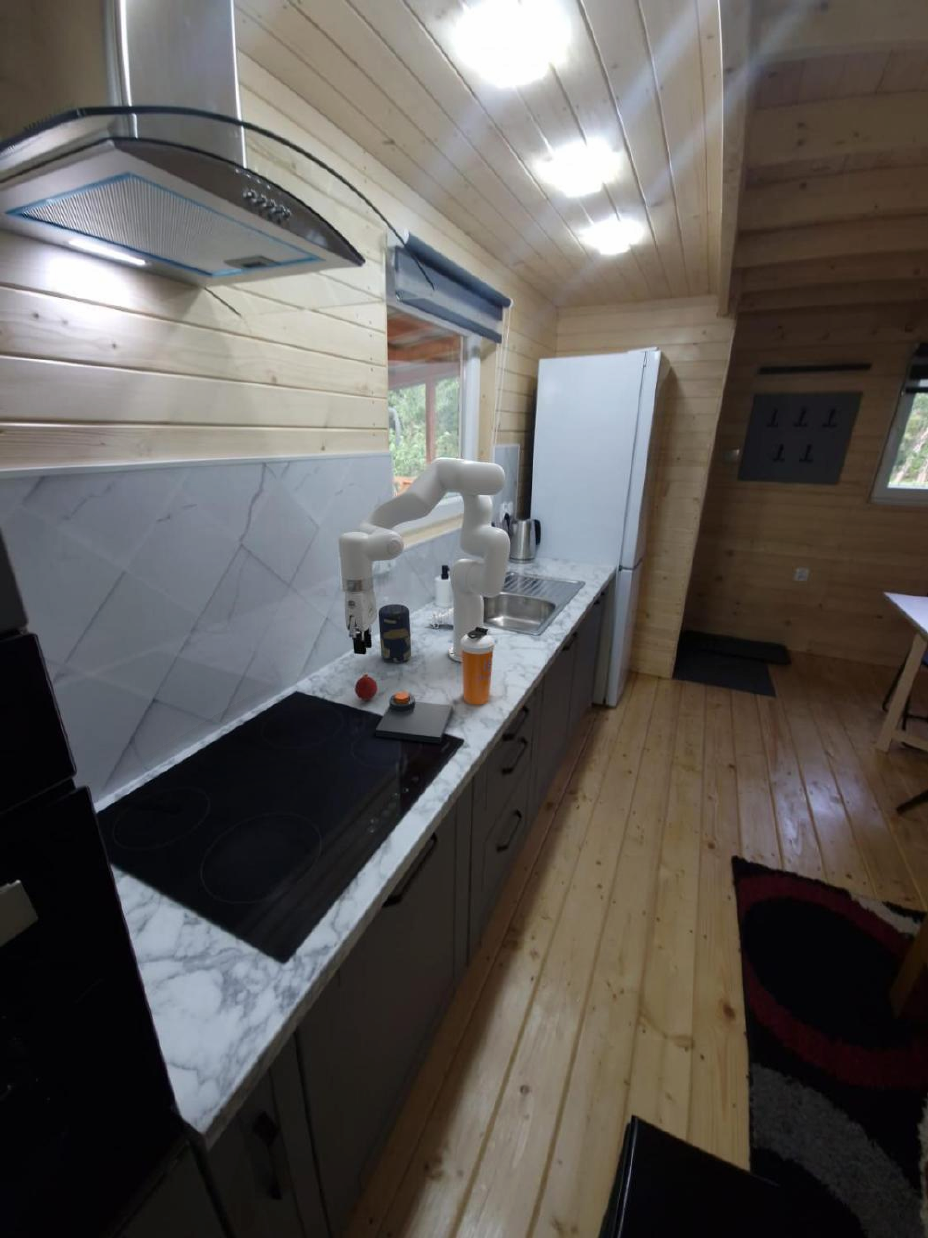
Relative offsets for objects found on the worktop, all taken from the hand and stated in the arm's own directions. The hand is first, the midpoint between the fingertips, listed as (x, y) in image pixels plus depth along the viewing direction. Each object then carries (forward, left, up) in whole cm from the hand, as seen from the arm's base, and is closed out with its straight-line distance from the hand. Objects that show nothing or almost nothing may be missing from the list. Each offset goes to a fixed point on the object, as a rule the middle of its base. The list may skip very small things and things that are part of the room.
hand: (363, 649), depth 129 cm
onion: (0, 0, -15) cm, 15 cm away
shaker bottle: (-7, +29, -15) cm, 34 cm away
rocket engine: (-56, +13, -15) cm, 60 cm away
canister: (-26, 0, -15) cm, 30 cm away
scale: (+8, +16, -15) cm, 23 cm away
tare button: (+3, +11, -12) cm, 17 cm away
